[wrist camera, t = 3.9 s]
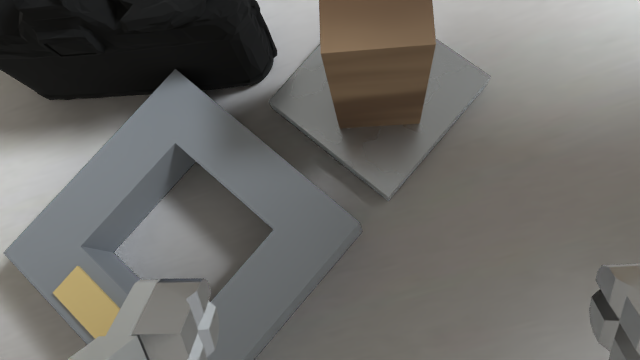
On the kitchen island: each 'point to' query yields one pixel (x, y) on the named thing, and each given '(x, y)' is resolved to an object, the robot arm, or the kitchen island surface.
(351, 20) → the walnut peg
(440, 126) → the pad
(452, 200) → the kitchen island surface
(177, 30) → the film camera
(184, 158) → the hole plate
